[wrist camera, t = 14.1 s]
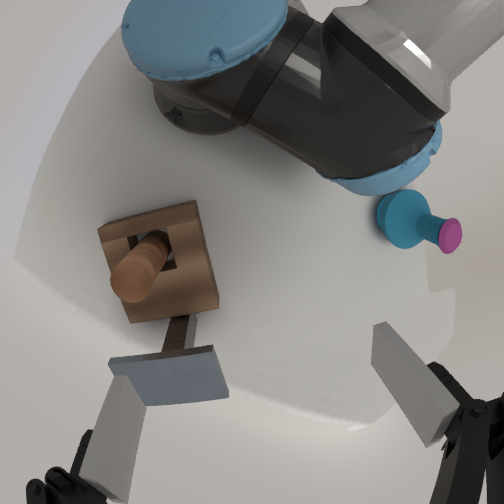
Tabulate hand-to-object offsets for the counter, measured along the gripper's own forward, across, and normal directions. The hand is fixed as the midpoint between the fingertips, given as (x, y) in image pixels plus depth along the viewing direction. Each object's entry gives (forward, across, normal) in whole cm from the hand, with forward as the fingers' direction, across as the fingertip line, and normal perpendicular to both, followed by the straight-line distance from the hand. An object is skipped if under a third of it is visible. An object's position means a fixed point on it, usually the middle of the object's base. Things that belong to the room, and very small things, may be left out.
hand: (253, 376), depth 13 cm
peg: (+29, -11, +1) cm, 31 cm away
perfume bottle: (+29, +26, -2) cm, 39 cm away
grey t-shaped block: (+29, -10, -10) cm, 32 cm away
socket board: (+29, -11, -2) cm, 31 cm away
